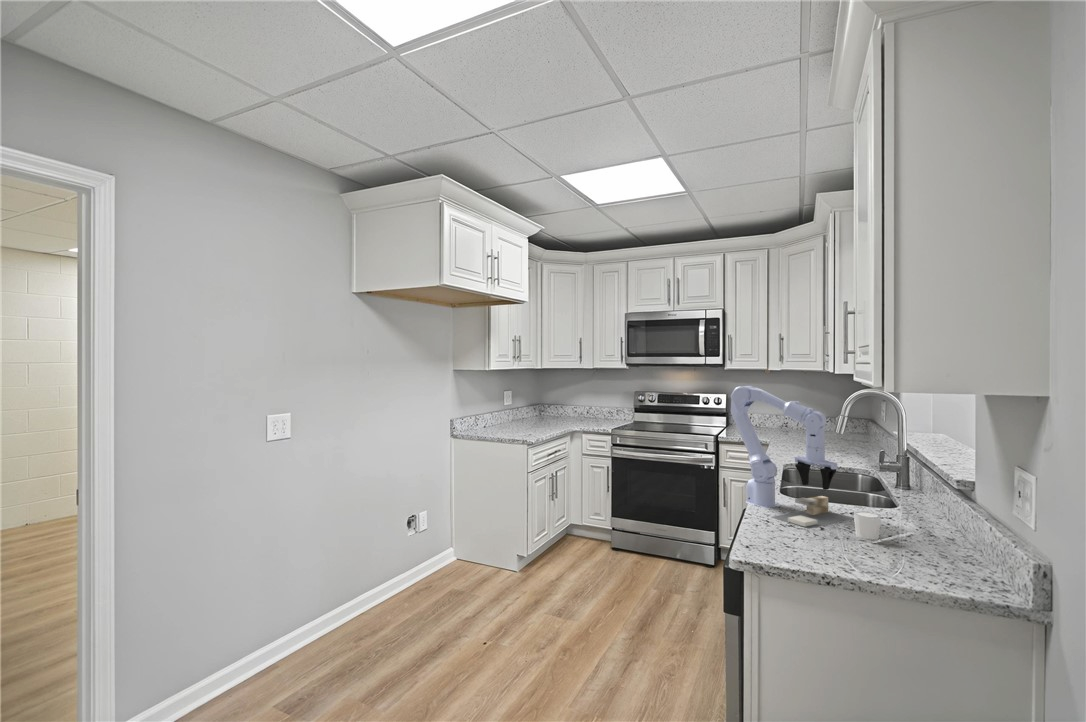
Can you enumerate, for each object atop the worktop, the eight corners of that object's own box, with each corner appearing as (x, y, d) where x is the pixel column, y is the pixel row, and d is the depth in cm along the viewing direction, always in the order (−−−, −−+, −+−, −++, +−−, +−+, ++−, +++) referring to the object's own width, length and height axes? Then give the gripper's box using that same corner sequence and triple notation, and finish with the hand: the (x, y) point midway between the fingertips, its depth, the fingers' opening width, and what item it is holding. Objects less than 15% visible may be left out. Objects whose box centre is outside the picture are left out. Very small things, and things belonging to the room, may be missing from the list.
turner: (818, 509, 182) (818, 495, 182) (831, 512, 178) (831, 498, 178) (795, 513, 177) (795, 498, 177) (808, 517, 173) (808, 502, 173)
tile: (800, 519, 170) (787, 522, 167) (800, 515, 170) (787, 517, 167) (817, 524, 165) (804, 527, 162) (817, 520, 165) (804, 522, 162)
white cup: (886, 542, 150) (886, 517, 150) (862, 542, 150) (862, 517, 150) (871, 534, 157) (871, 511, 157) (848, 534, 157) (848, 511, 157)
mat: (770, 518, 173) (770, 516, 173) (817, 509, 184) (817, 508, 184) (808, 530, 161) (808, 528, 161) (857, 520, 171) (856, 518, 171)
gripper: (788, 445, 183) (788, 483, 183) (827, 450, 170) (827, 492, 170) (802, 443, 186) (802, 481, 186) (841, 449, 173) (841, 490, 173)
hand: (815, 486), depth 178 cm, fingers open, 7 cm apart
